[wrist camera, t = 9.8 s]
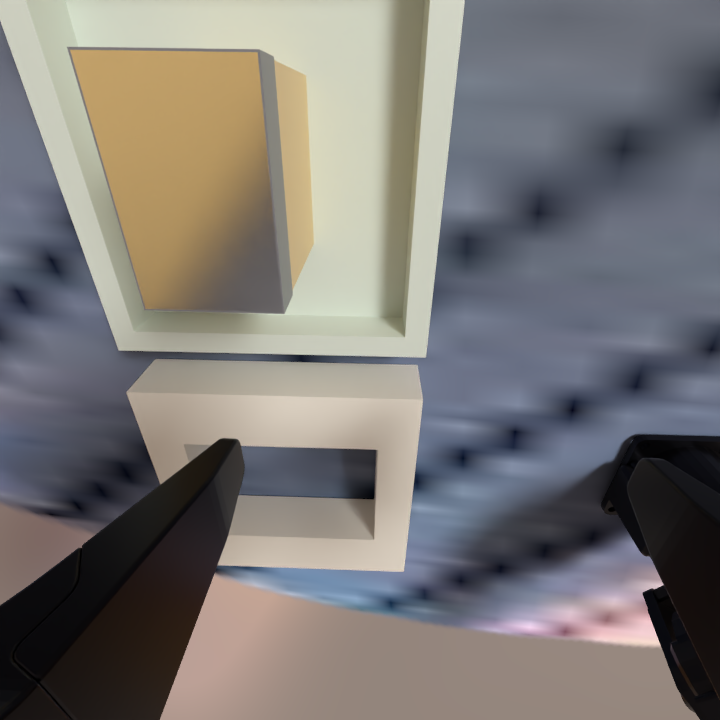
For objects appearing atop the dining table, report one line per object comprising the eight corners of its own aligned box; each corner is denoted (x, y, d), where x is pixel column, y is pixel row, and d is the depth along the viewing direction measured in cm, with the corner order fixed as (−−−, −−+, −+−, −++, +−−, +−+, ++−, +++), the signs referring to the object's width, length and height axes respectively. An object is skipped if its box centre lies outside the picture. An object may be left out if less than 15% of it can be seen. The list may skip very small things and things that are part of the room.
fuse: (307, 73, 14) (259, 48, 8) (315, 244, 18) (284, 314, 12) (193, 72, 14) (66, 46, 9) (221, 242, 18) (144, 310, 12)
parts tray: (462, -105, 12) (481, -149, 10) (420, 331, 20) (425, 357, 18) (13, -103, 13) (-60, -146, 11) (145, 325, 21) (118, 350, 18)
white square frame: (417, 364, 21) (422, 399, 19) (401, 530, 29) (403, 571, 26) (155, 359, 22) (126, 392, 19) (206, 524, 29) (190, 564, 27)
